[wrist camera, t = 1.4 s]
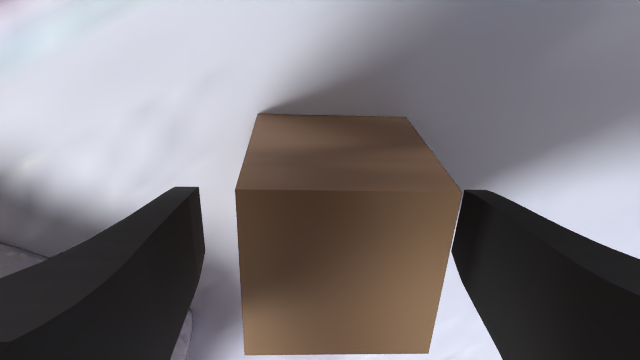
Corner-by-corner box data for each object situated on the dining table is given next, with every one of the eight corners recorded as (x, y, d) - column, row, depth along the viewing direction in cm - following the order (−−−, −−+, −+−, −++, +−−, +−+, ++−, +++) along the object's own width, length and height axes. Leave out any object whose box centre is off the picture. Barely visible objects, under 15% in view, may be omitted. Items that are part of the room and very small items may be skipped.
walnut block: (405, 116, 13) (462, 192, 8) (389, 238, 15) (428, 353, 10) (257, 113, 13) (234, 189, 8) (261, 238, 15) (244, 355, 10)
